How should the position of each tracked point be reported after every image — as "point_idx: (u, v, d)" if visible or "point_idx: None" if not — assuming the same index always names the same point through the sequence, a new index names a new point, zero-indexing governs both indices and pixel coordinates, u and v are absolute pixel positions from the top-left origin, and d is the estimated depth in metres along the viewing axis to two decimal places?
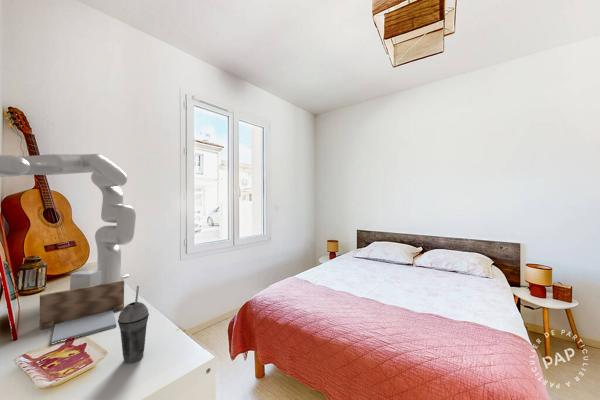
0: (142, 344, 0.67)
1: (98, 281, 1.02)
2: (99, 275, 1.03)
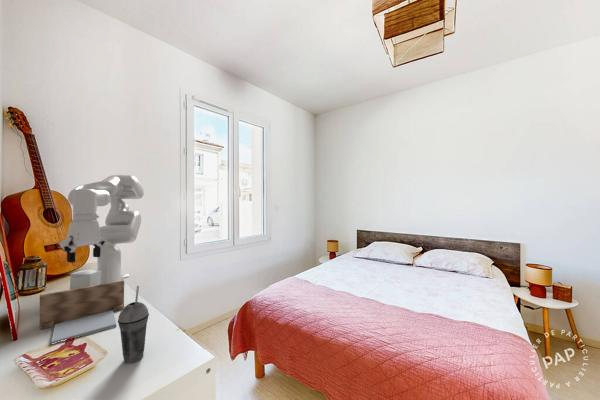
0: (142, 344, 0.67)
1: (98, 281, 1.02)
2: (99, 275, 1.03)
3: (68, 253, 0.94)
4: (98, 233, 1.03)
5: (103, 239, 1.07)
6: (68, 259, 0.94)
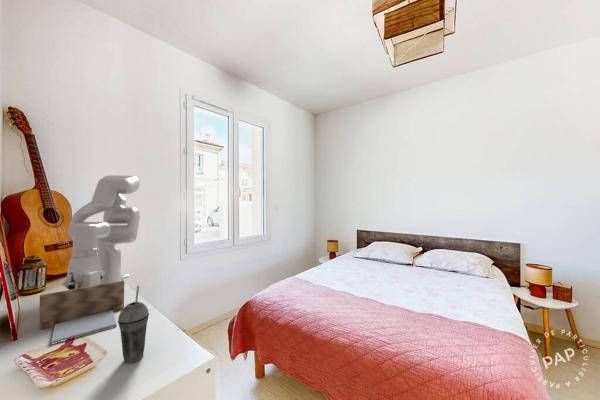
0: (142, 344, 0.67)
1: (98, 281, 1.02)
2: (99, 275, 1.03)
3: None
4: (98, 267, 1.04)
5: (101, 274, 1.07)
6: None
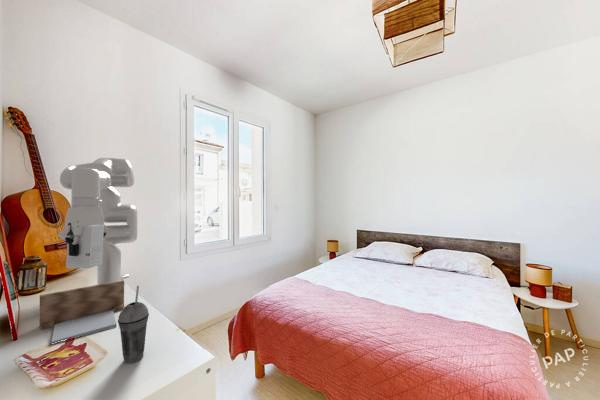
0: (142, 344, 0.67)
1: (101, 237, 0.87)
2: (102, 230, 0.87)
3: (70, 245, 0.80)
4: (101, 221, 0.88)
5: (105, 231, 0.91)
6: (70, 252, 0.80)
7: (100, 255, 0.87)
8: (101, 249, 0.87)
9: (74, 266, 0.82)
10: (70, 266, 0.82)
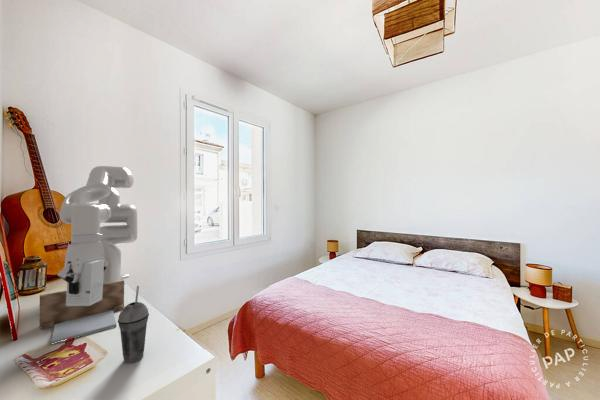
0: (142, 344, 0.67)
1: (101, 272, 0.86)
2: (102, 265, 0.87)
3: (70, 283, 0.80)
4: (101, 256, 0.88)
5: (105, 264, 0.91)
6: (70, 291, 0.80)
7: (100, 291, 0.86)
8: (101, 285, 0.86)
9: (73, 303, 0.81)
10: (70, 304, 0.81)
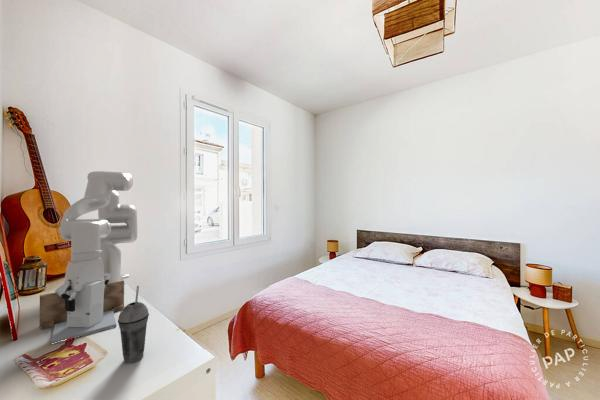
0: (142, 344, 0.67)
1: (101, 293, 0.86)
2: (102, 286, 0.87)
3: (66, 301, 0.79)
4: (101, 272, 0.88)
5: (107, 277, 0.92)
6: (66, 308, 0.79)
7: (100, 311, 0.86)
8: (101, 305, 0.87)
9: (74, 325, 0.82)
10: (71, 325, 0.82)
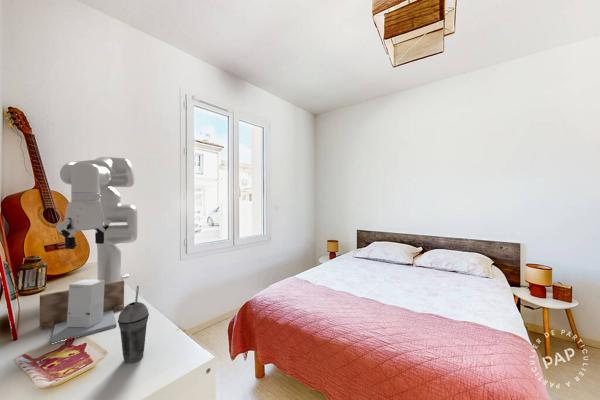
0: (142, 344, 0.67)
1: (101, 293, 0.86)
2: (103, 286, 0.87)
3: (66, 238, 0.80)
4: (101, 216, 0.89)
5: (107, 223, 0.93)
6: (66, 245, 0.80)
7: (100, 311, 0.86)
8: (101, 305, 0.87)
9: (74, 325, 0.82)
10: (71, 325, 0.82)
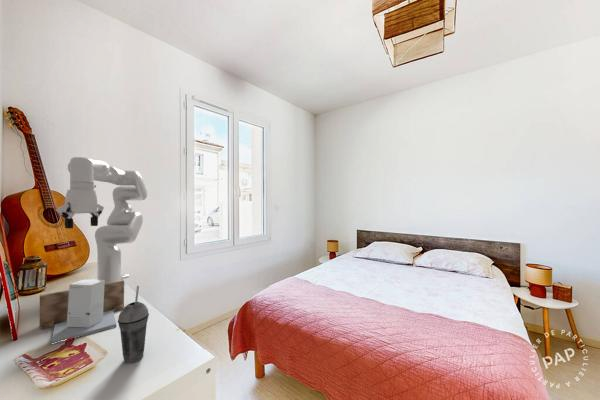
0: (142, 344, 0.67)
1: (101, 293, 0.86)
2: (103, 286, 0.87)
3: (66, 219, 0.96)
4: (95, 202, 1.05)
5: (100, 209, 1.09)
6: (66, 225, 0.96)
7: (100, 311, 0.86)
8: (101, 305, 0.87)
9: (74, 325, 0.82)
10: (71, 325, 0.82)
